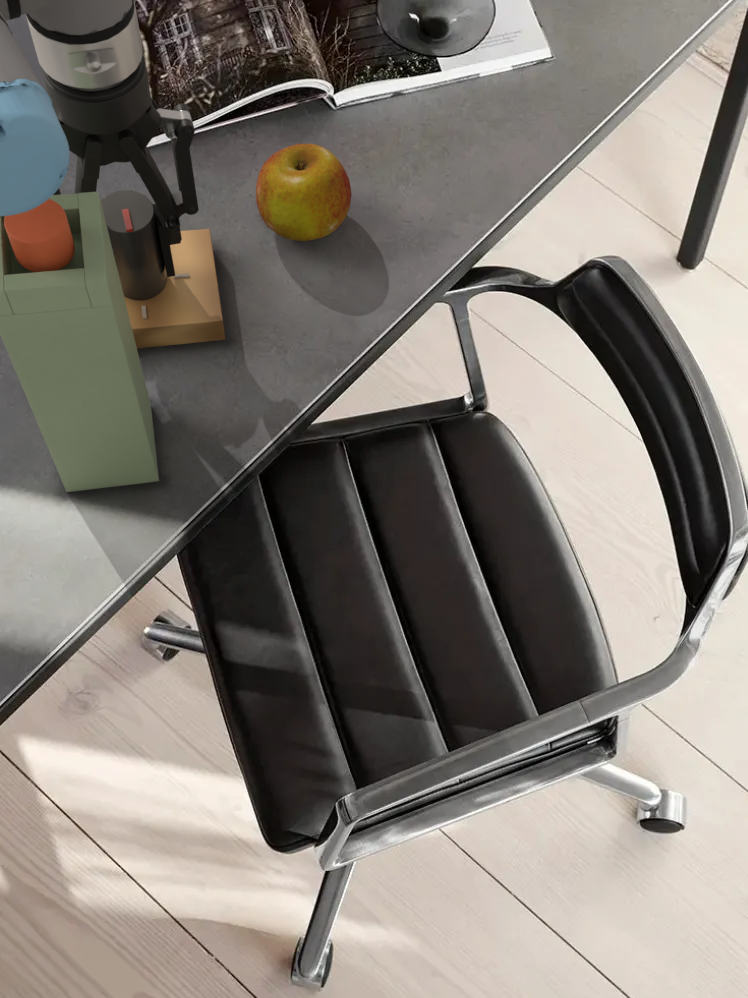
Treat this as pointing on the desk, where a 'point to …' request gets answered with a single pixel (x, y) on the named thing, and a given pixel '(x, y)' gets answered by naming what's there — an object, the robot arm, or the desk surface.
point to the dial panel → (182, 299)
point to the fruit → (303, 192)
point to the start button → (41, 237)
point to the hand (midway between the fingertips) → (138, 269)
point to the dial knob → (135, 243)
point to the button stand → (80, 356)
